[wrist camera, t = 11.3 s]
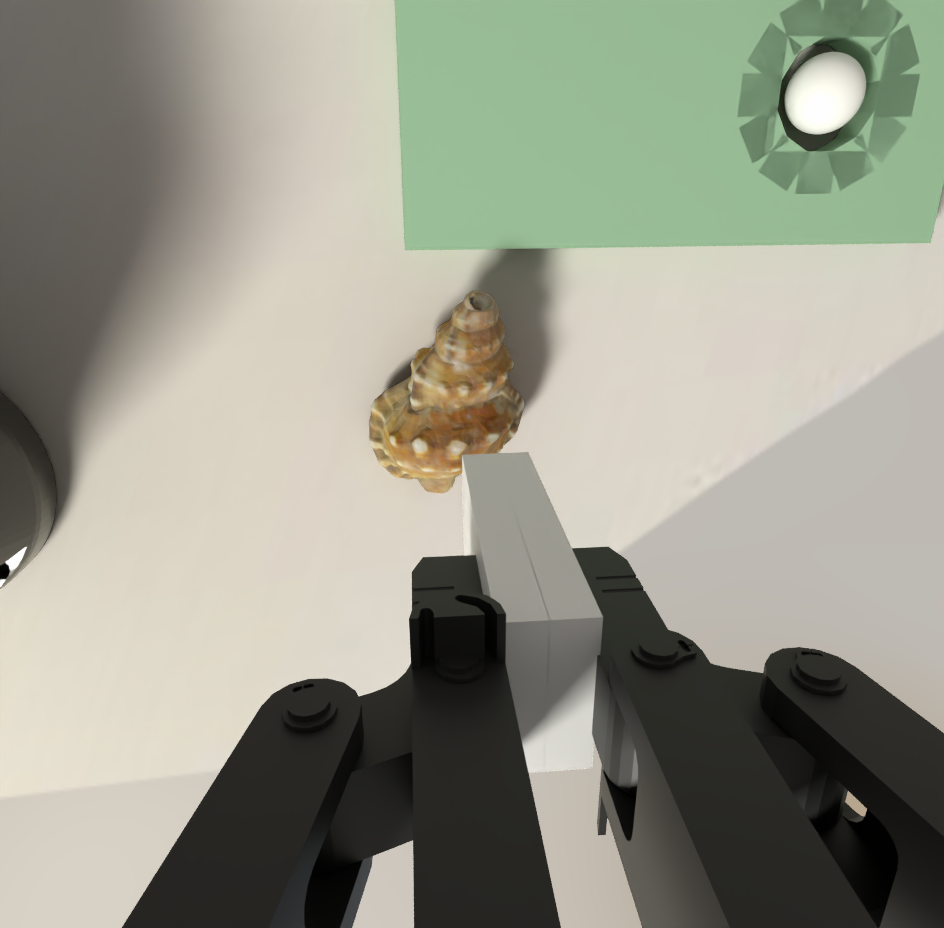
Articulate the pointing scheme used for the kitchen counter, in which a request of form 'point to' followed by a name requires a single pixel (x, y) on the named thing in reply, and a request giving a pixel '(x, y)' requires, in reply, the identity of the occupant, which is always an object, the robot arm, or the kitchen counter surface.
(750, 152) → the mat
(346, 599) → the kitchen counter surface
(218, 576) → the kitchen counter surface
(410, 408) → the seashell
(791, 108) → the ball
